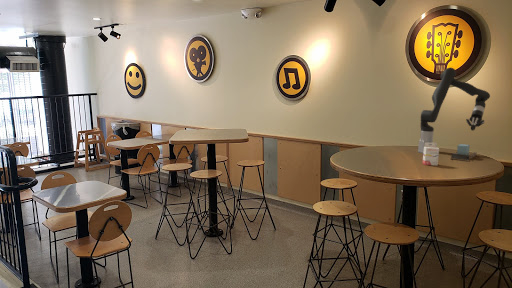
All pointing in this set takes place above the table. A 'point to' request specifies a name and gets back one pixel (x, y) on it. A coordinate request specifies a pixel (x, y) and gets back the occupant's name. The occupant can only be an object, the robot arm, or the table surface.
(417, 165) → the table surface
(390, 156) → the table surface
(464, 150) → the slate block
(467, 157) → the walnut chute
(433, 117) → the robot arm
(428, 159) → the ink cartridge box
